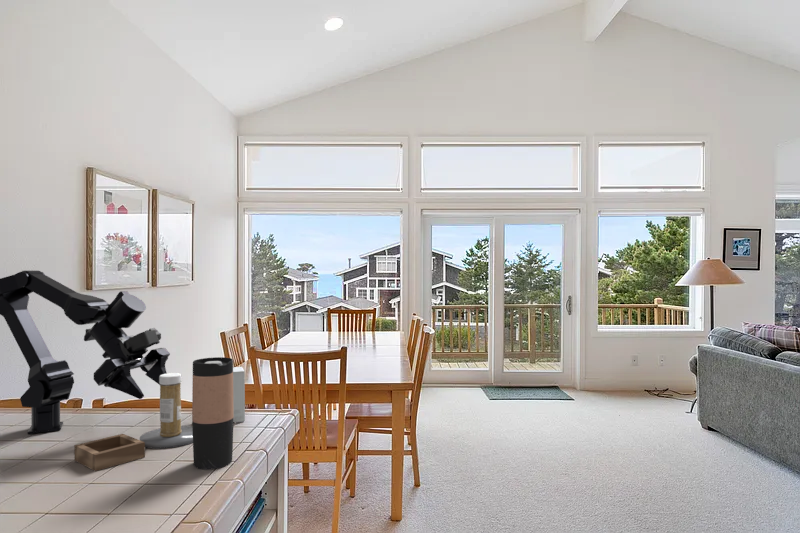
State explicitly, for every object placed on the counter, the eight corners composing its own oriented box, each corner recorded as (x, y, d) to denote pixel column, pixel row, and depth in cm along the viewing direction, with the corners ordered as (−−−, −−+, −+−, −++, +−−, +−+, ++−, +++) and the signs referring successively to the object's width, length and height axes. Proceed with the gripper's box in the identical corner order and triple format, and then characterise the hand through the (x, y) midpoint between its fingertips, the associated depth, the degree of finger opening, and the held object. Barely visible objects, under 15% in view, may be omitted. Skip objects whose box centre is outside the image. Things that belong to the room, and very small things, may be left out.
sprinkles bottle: (186, 433, 120) (185, 373, 120) (168, 439, 116) (167, 377, 116) (172, 430, 123) (172, 371, 123) (154, 435, 119) (154, 375, 119)
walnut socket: (74, 460, 106) (74, 445, 106) (122, 447, 114) (122, 433, 114) (95, 471, 100) (95, 455, 100) (144, 457, 108) (144, 442, 108)
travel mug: (198, 456, 108) (198, 357, 108) (237, 455, 109) (237, 356, 109) (186, 470, 100) (186, 364, 101) (228, 469, 101) (228, 363, 101)
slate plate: (138, 435, 122) (138, 430, 122) (199, 427, 128) (199, 423, 128) (140, 452, 111) (140, 447, 111) (206, 442, 117) (206, 438, 117)
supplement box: (245, 422, 133) (245, 371, 133) (213, 425, 130) (213, 373, 130) (243, 414, 140) (242, 366, 140) (212, 417, 137) (212, 368, 137)
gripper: (105, 321, 113) (150, 377, 110) (163, 314, 131) (203, 361, 128) (73, 357, 114) (117, 412, 112) (135, 345, 133) (174, 392, 130)
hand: (156, 392), depth 121 cm, fingers open, 9 cm apart
